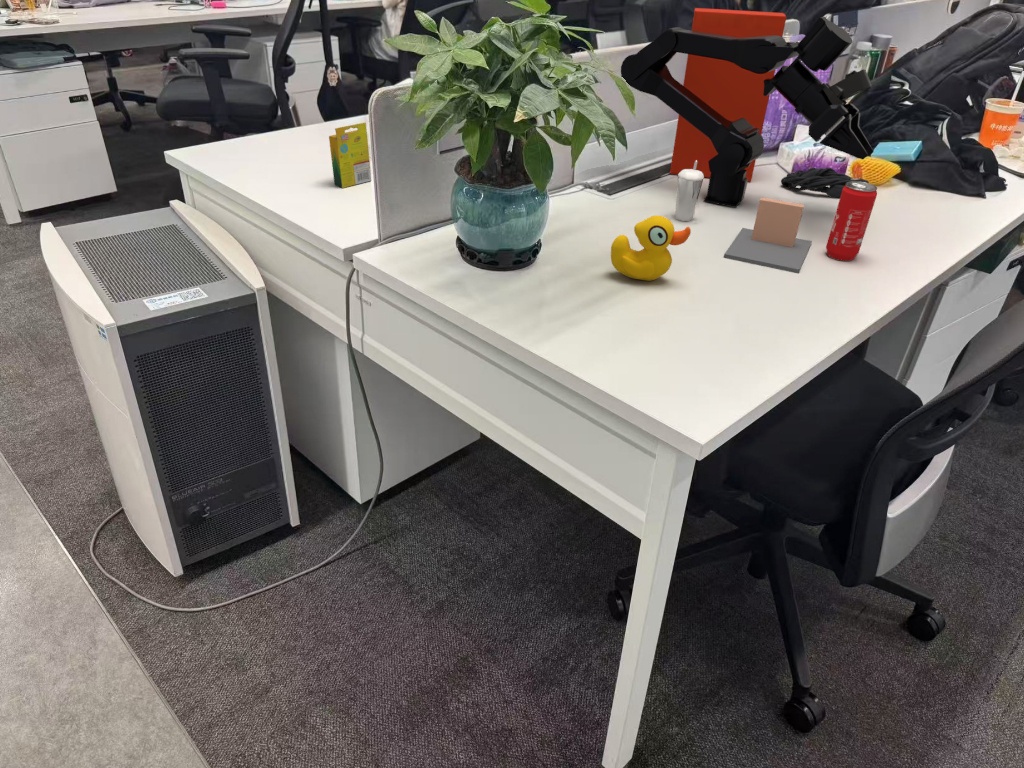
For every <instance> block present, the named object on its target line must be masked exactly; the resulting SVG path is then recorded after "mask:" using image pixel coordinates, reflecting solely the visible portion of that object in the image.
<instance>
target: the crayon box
mask: <svg viewBox="0 0 1024 768" xmlns="http://www.w3.org/2000/svg"><path fill="white" fill-rule="evenodd" d="M350 129H355V130H351V131H348V130H350ZM334 130H335V134H332V135H329V136H328V141H329V148H330V156H331V157H330V158H331V164H332V165H331V167H332V174H333V182H334V186H336V187H339V188H341V189H345V188H348V187H351V186H355V185H359V184H364V183H367V182H372V173H371V162H370V161H371V160H370V153H369V139H368V132H367V123H366V122H360V123H356V124H352V125H351V124H350V125H346V126H340V127H336V128H334ZM346 131H347V132H346Z"/></svg>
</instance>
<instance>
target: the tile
mask: <svg viewBox="0 0 1024 768" xmlns="http://www.w3.org/2000/svg"><path fill="white" fill-rule="evenodd" d="M804 207H805V204H801V203H795V202H790V201H783V200H780V199H774V198H767V197H764V196H763V197H760V199H759V203H758V208H757V212H756V218H755V221H754V226H753V229H752V230H753V233H752V238H751V239H754V240H759V241H764V242H769V243H774V244H779V245H784V246H789V247H793V245H794V243H795V239H796V238H797V234H798V231H799V226H800V223H801V220H802V216H803V212H804Z"/></svg>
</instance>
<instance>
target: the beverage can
mask: <svg viewBox="0 0 1024 768" xmlns="http://www.w3.org/2000/svg"><path fill="white" fill-rule="evenodd" d="M877 190H878V187H877V185H874V184H873V183H870V182H869V183H865V182H857V181H852V182H847V183H846V186H845V187H844V188H843V190H842V193H841V197H840V198H839V200H838V204H837V207H836V211H835V213H834V218H833V222H832V225H831V228H830V232H829V234H828V238H827V241H826V245H825V250H826V255H827V257H829V258H831V259H834V260H837V261H842V262H850V261H853V260H854V259H855V257H857V255H859V253H860V250H861V249H860V248H861V247H862V243H863V240H864V237H865V235H866V230H867V227H868V224H869V222H870V217H871V215H872V212H873V208H874V207H875V202H876V199H877V195H878V191H877Z"/></svg>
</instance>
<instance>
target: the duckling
mask: <svg viewBox="0 0 1024 768" xmlns="http://www.w3.org/2000/svg"><path fill="white" fill-rule="evenodd" d="M633 230H634V234H635V236H636V237H637V241H638V243H639V244H640V245H641V247H642V249H641V250H636V249H633V248H631V245H630V241H629V238H628V237H627V235H625V234H619V235H618V236H616V237H615V239H614V240H613V241H612V243H611V246H610V260H611V264H612V266H613V267H614V269H615V270H616V271H617V272H619V273H621V274H622V275H624V276H626V277H628V278H631V279H633V280H634V279H635V280H640V281H648V282H649V281H651V282H652V281H654V280H657V279H659V278H661V276H663V275H665V274H666V273H667V272H668V271H669V270H670V268H671V266H672V264H673V258H672V255H671V252H670V251H669V250H668V247H669V246H679V245H682V244H684V243H685V242H687V240H688V239H689V237H690V236H691V233H692V231H691V228H690V226H686V227H685V228H684V229H682V230H678V231H675V227H674V224H673V222H672V221H671V220H670V219H669V218H667V217H665V216H662V215H652V216H650V217H647V218H646V219H644V220H641V221H639V222H637V223H636V224H635V225H634V229H633Z"/></svg>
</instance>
